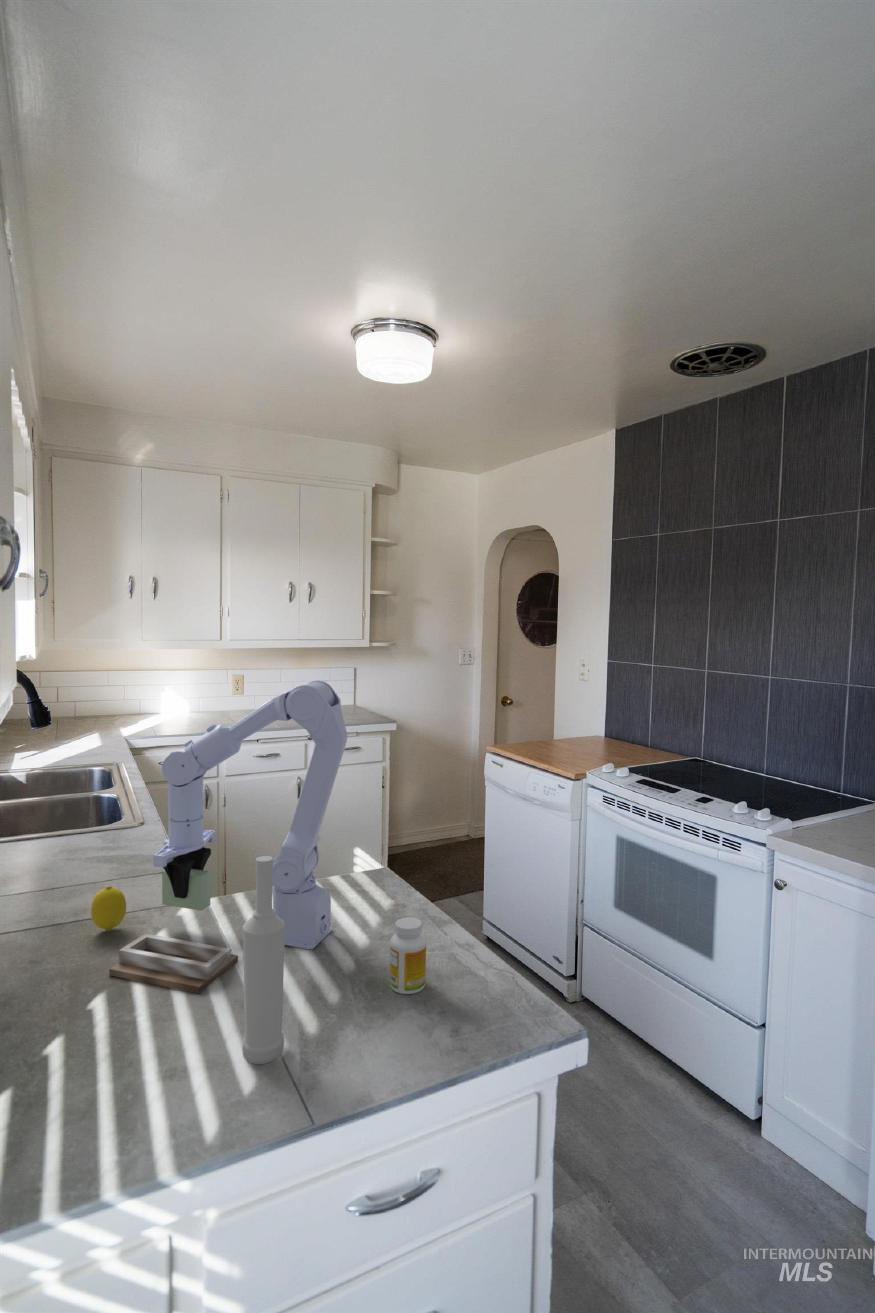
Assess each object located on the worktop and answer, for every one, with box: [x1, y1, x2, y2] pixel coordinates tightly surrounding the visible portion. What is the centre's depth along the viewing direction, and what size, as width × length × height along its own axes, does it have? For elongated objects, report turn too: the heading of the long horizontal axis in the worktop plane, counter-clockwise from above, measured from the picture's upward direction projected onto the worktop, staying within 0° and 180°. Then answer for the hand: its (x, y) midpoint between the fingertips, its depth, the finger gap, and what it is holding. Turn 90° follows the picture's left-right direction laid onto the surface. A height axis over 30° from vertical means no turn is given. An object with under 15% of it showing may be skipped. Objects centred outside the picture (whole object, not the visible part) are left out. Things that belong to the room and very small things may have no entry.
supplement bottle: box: [389, 917, 427, 995], centre depth 104 cm, size 5×5×10 cm
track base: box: [108, 933, 239, 994], centre depth 108 cm, size 16×10×3 cm, turn 73°
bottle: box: [242, 855, 285, 1065], centre depth 87 cm, size 5×5×25 cm
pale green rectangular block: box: [161, 869, 211, 911], centre depth 121 cm, size 8×2×6 cm, turn 73°
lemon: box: [90, 885, 127, 932], centre depth 120 cm, size 6×6×8 cm
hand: (186, 893), depth 121 cm, fingers closed on pale green rectangular block, 2 cm apart
